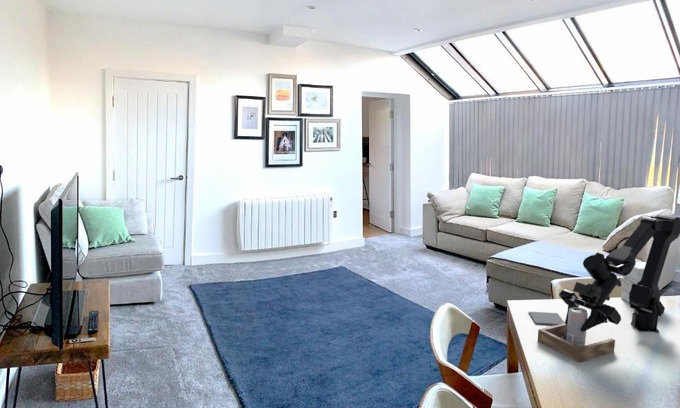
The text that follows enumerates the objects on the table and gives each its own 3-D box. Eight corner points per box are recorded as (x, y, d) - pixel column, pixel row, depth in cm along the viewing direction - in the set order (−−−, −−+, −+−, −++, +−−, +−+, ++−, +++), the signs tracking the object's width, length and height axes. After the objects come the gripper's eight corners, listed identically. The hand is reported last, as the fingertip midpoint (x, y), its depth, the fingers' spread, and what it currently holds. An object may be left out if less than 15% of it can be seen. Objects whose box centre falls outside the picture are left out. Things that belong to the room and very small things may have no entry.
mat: (557, 314, 177) (557, 313, 177) (565, 325, 167) (565, 324, 167) (528, 313, 178) (528, 311, 178) (535, 324, 169) (535, 322, 168)
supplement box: (641, 297, 194) (645, 261, 192) (657, 306, 186) (662, 268, 183) (620, 298, 194) (623, 261, 191) (634, 306, 185) (639, 268, 182)
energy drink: (580, 343, 154) (583, 307, 152) (587, 350, 149) (590, 313, 147) (563, 342, 155) (566, 306, 153) (569, 350, 149) (572, 313, 147)
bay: (571, 332, 162) (572, 321, 161) (613, 352, 148) (615, 339, 147) (537, 341, 156) (538, 329, 155) (578, 362, 142) (580, 349, 141)
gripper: (565, 265, 158) (537, 302, 155) (618, 282, 141) (589, 324, 138) (580, 285, 163) (553, 321, 160) (633, 303, 146) (605, 345, 143)
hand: (573, 327), depth 150 cm, fingers closed on energy drink, 5 cm apart
